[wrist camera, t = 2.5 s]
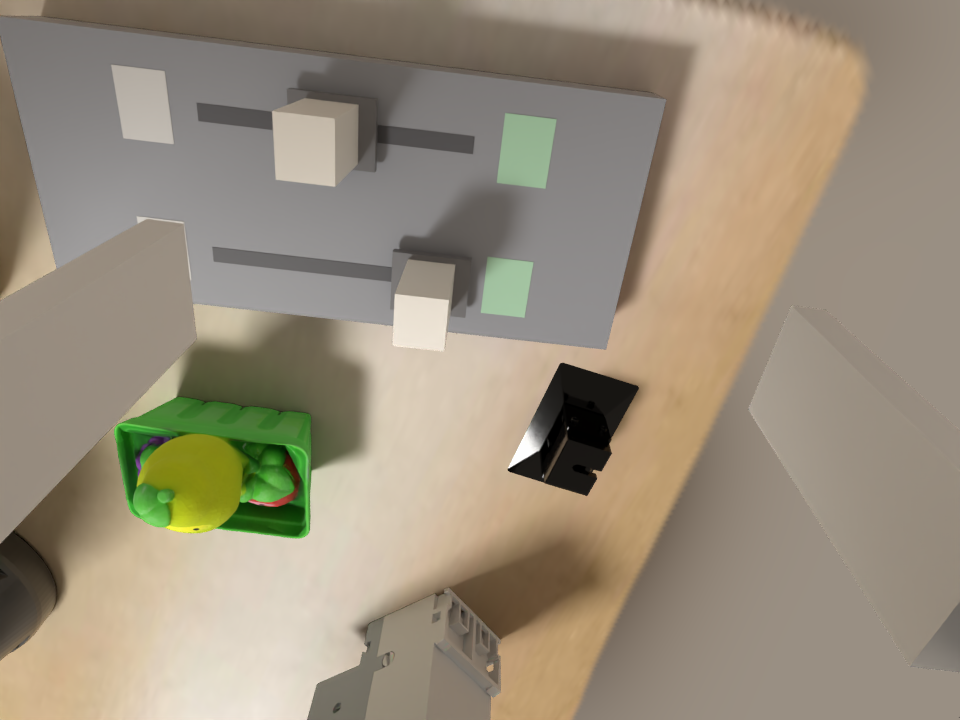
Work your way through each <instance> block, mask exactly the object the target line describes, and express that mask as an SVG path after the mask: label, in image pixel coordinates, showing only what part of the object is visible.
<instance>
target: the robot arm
mask: <svg viewBox="0 0 960 720" xmlns="http://www.w3.org/2000/svg"><path fill="white" fill-rule="evenodd" d="M196 339H197V336H196V327H195V318H194V309H193V301H192V292H191V283H190V274H189V265H188V257H187V248H186V239H185V230H184V224H183V223H175V222H168V221H160V220H153V219H146V220H144V221H142V222H140V223H138V224H137V225H135V226H133V227H131V228H129V229H128V230H126V231H124V232H122V233H120V234H119V235H117V236H115V237H113V238H112V239H110V240H108V241H106V242H104V243H103V244H101V245H99V246H97V247H95V248H94V249H92V250H90V251H88V252H86V253H85V254H83V255H81V256H79V257H77V258H76V259H74V260H72V261H70V262H68V263H67V264H65V265H63V266H61V267H60V268H58V269H56V270H54V271H52V272H51V273H49V274H47V275H45V276H43V277H42V278H40V279H38V280H36V281H34V282H33V283H31V284H29V285H27V286H25V287H24V288H22V289H20V290H18V291H17V292H15V293H13V294H11V295H9V296H8V297H6V298H4V299H2V300H0V660H2V659H3V658H4V657H5V656H6V655H8V654H9V653H11V652H13V651H15V650H16V649H18V648H19V647H21V646H22V645H23V644H25V643H26V642H27V641H28V640H29V639H30V638H31V637H32V636H33V635H34V634H35V633H36V632H37V630H38V629H39V628H40V626H41V625H42V624H43V622H44V621H45V620H46V619H47V617H48V616H49V615H50V613H51V612H52V610H53V608H54V605H55V602H56V587H55V583H54V580H53V577H52V575H51V573H50V571H49V569H48V567H47V566H46V564H45V563H44V561H43V560H42V559H41V558H40V556H39V555H38V554H37V553H36V552H35V551H34V550H33V549H32V548H31V547H30V546H29V545H28V544H27V543H26V542H25V541H23V540H22V539H21V538H20V537H18V536H17V535H16V534H14V533H13V532H12V531H13V530H14V529H15V528H16V527H17V526H18V525H19V524H20V523H21V522H22V521H23V520H24V519H25V518H26V516H27V515H28V514H29V513H30V512H31V511H32V510H33V509H34V508H35V507H36V506H37V505H38V504H39V503H40V502H41V501H42V500H43V499H44V498H45V497H46V496H47V495H48V494H49V493H50V491H51V490H52V489H53V488H54V487H55V486H56V485H57V484H58V483H59V482H60V481H61V480H62V479H63V478H64V477H65V476H66V475H67V474H68V473H69V472H70V471H71V470H72V469H73V468H74V466H75V465H76V464H77V463H78V462H79V461H80V460H81V459H82V458H83V457H84V456H85V455H86V454H87V453H88V452H89V451H90V450H91V449H92V448H93V447H94V446H95V445H96V444H97V443H98V441H99V440H100V439H101V438H102V437H103V436H104V435H105V434H106V433H107V432H108V431H109V430H110V429H111V428H112V427H113V426H114V425H115V424H116V423H117V422H118V421H119V420H120V419H121V418H122V416H123V415H124V414H125V413H126V412H127V411H128V410H129V409H130V408H131V407H132V406H133V405H134V404H135V403H136V402H137V401H138V400H139V399H140V398H141V397H142V396H143V395H144V394H145V393H146V391H147V390H148V389H149V388H150V387H151V386H152V385H153V384H154V383H155V382H156V381H157V380H158V379H159V378H160V377H161V376H162V375H163V374H164V373H165V372H166V371H167V370H168V369H169V368H170V366H171V365H172V364H173V363H174V362H175V361H176V360H177V359H178V358H179V357H180V356H181V355H182V354H183V353H184V352H185V351H186V350H187V349H188V348H189V347H190V346H191V345H192V344H193V343H194V341H195V340H196ZM748 410H749V412H750V413H751V415H752V417H753V418H754V420H755V421H756V423H757V425H758V426H759V428H760V429H761V431H762V432H763V434H764V436H765V437H766V439H767V440H768V442H769V444H770V445H771V446H772V448H773V450H774V451H775V453H776V455H777V456H778V458H779V459H780V461H781V462H782V464H783V466H784V467H785V469H786V471H787V472H788V474H789V475H790V477H791V479H792V480H793V482H794V483H795V485H796V486H797V488H798V490H799V491H800V493H801V494H802V496H803V497H804V499H805V501H806V502H807V504H808V505H809V507H810V509H811V510H812V512H813V514H814V515H815V517H816V518H817V520H818V522H819V523H820V525H821V526H822V528H823V529H824V531H825V532H826V534H827V536H828V537H829V539H830V541H831V542H832V544H833V545H834V547H835V549H836V550H837V551H838V553H839V555H840V556H841V558H842V559H843V561H844V563H845V564H846V566H847V568H848V569H849V571H850V572H851V574H852V575H853V577H854V579H855V580H856V582H857V583H858V585H859V587H860V588H861V590H862V591H863V593H864V594H865V596H866V598H867V599H868V601H869V603H870V604H871V606H872V607H873V609H874V611H875V612H876V614H877V615H878V617H879V619H880V620H881V622H882V623H883V625H884V626H885V628H886V630H887V631H888V633H889V634H890V636H891V638H892V639H893V641H894V642H895V644H896V646H897V647H898V649H899V650H900V652H901V654H902V655H903V657H904V658H905V660H906V661H907V663H908V665H909V666H910V667H918V668H926V669H935V670H944V671H952V672H960V430H959V429H958V428H957V427H956V426H955V425H954V424H952V423H951V422H950V421H949V420H948V419H947V418H946V417H945V416H944V415H942V414H941V413H940V412H939V411H938V410H937V409H936V408H935V407H933V406H932V405H931V404H930V403H929V402H928V401H927V400H926V399H925V398H924V397H922V396H921V395H920V394H919V393H918V392H917V391H916V390H914V389H913V388H912V387H911V386H910V385H909V384H908V383H907V382H906V381H904V380H903V379H902V378H901V377H900V376H899V375H898V374H897V373H896V372H895V371H893V370H892V369H891V368H890V367H889V366H888V365H887V364H886V363H884V362H883V361H882V360H881V359H880V358H879V357H878V356H877V355H876V354H874V353H873V352H872V351H871V350H870V349H869V348H868V347H867V346H865V345H864V344H863V343H862V342H861V341H860V340H859V339H858V338H857V337H856V336H854V335H853V334H852V333H851V332H850V331H849V330H848V329H847V328H846V327H844V326H843V325H842V324H841V323H840V322H839V321H838V320H837V319H836V318H834V317H833V316H832V315H831V314H830V313H829V312H828V311H827V310H824V309H817V308H809V307H802V306H794V305H791V308H790V310H789V313H788V315H787V317H786V320H785V322H784V324H783V327H782V329H781V332H780V334H779V337H778V339H777V341H776V344H775V346H774V349H773V351H772V353H771V356H770V358H769V361H768V363H767V365H766V368H765V370H764V373H763V375H762V377H761V380H760V382H759V384H758V387H757V389H756V392H755V394H754V396H753V399H752V401H751V404H750V406H749V408H748Z"/></svg>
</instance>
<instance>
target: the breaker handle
mask: <svg viewBox="0 0 960 720" xmlns="http://www.w3.org/2000/svg"><path fill="white" fill-rule="evenodd" d="M471 262H472V257H463V256H454V255H446V254H437V253H429V252H420V251H411V250H403V249H394V250H393V254H392V278H391V301H390V310H394V321H393V343H392V346H399V347H408V348H417V349H426V350H435V351H444V349H445V343H446V337H447V331H448V325H449V319H450V316H453V317H461V318H465V317H466V308H467V299H468V289H469V280H470V271H471Z"/></svg>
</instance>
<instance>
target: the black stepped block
mask: <svg viewBox="0 0 960 720" xmlns="http://www.w3.org/2000/svg"><path fill="white" fill-rule="evenodd" d="M638 389H639V387H638V386H636V385H633V384H629V383H626V382H623V381H620V380H617V379H613V378H610V377H607V376H604V375H601V374H597V373H594V372H591V371H588V370H585V369H581V368H578V367H575V366H572V365H568V364H565V363H561V364H560V365H559V367H558V369H557V371H556V373H555V375H554V377H553V379H552V381H551V383H550V385H549V387H548V389H547V391H546V393H545V395H544V397H543V399H542V401H541V403H540V405H539V407H538V409H537V411H536V413H535V415H534V417H533V419H532V421H531V423H530V425H529V427H528V429H527V431H526V433H525V435H524V437H523V439H522V441H521V443H520V445H519V447H518V449H517V451H516V453H515V455H514V457H513V459H512V461H511V463H510V465H509V467H508V471H509V472H512V473H515V474H518V475H522V476H525V477H528V478H531V479H534V480H538V481H541V482H544V483H545V484H549V485H552V486H555V487H559V488H562V489H565V490H569V491H572V492H575V493H579V494H582V495H585V496H587V495H588V494H589V492H590V490H591V489H592V487H593V485H594V483H595V482H596V480H597V476H596V474H595V473H592V472H593V470H597V471H602V470H603V468H604V466H605V464H606V463H607V461H608V459H609V457H610V456H611V454H612V452H611V449H610V445H609V443H610V442H611V438H612V436H613V434H614V432H615V430H616V429H617V427H618V425H619V423H620V421H621V420H622V418H623V416H624V414H625V412H626V411H627V409H628V407H629V405H630V403H631V402H632V400H633V398H634V396H635V394H636V393H637V391H638Z"/></svg>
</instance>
